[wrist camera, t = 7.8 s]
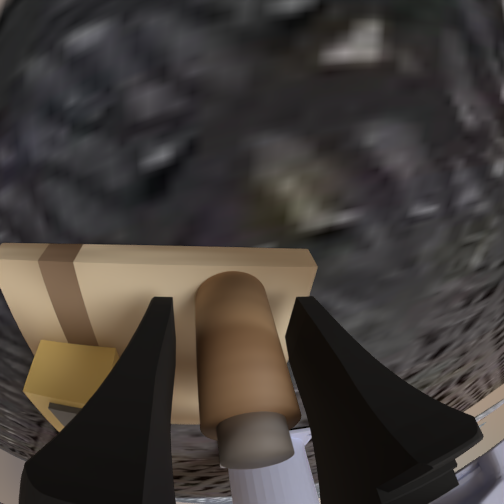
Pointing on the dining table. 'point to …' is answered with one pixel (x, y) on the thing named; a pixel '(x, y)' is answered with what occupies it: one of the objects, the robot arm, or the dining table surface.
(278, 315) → the plywood panel
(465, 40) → the dining table surface
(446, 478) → the robot arm
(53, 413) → the stud finder
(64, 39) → the dining table surface
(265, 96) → the dining table surface
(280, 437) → the brown gray-topped cylinder
